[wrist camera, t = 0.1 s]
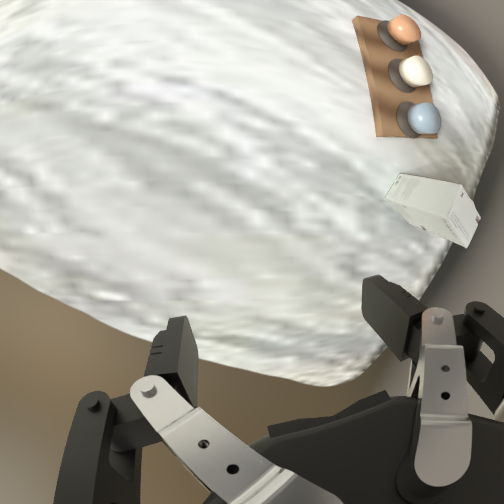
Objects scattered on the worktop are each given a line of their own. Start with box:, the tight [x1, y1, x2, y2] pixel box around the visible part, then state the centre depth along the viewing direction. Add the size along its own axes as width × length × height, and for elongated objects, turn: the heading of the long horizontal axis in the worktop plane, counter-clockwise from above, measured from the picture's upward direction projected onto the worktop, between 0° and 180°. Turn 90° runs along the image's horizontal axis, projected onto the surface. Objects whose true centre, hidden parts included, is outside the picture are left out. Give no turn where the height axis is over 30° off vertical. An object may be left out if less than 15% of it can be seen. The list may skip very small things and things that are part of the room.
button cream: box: [399, 56, 433, 87], centre depth 30 cm, size 5×5×3 cm
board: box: [352, 16, 437, 138], centre depth 34 cm, size 22×13×2 cm, turn 9°
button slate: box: [408, 102, 441, 134], centre depth 32 cm, size 5×5×3 cm
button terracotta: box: [387, 15, 421, 45], centre depth 27 cm, size 5×5×3 cm
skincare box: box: [385, 173, 481, 248], centre depth 35 cm, size 8×6×15 cm
